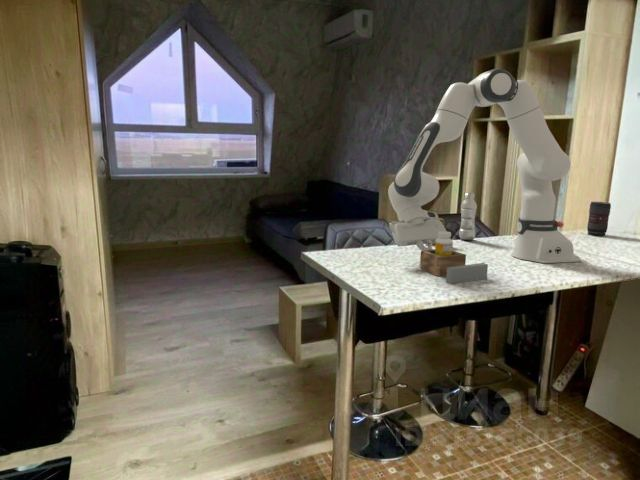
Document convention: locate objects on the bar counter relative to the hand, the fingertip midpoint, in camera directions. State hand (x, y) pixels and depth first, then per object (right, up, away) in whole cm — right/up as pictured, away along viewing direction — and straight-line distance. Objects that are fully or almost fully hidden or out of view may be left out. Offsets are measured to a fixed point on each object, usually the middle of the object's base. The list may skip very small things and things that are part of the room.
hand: (429, 253), depth 157 cm
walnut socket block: (+3, -6, -6) cm, 8 cm away
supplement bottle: (+3, -3, -6) cm, 7 cm away
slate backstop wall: (+8, -8, -16) cm, 19 cm away
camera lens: (+89, +7, +56) cm, 105 cm away
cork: (+11, +2, +33) cm, 35 cm away
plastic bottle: (+26, +4, +43) cm, 51 cm away
